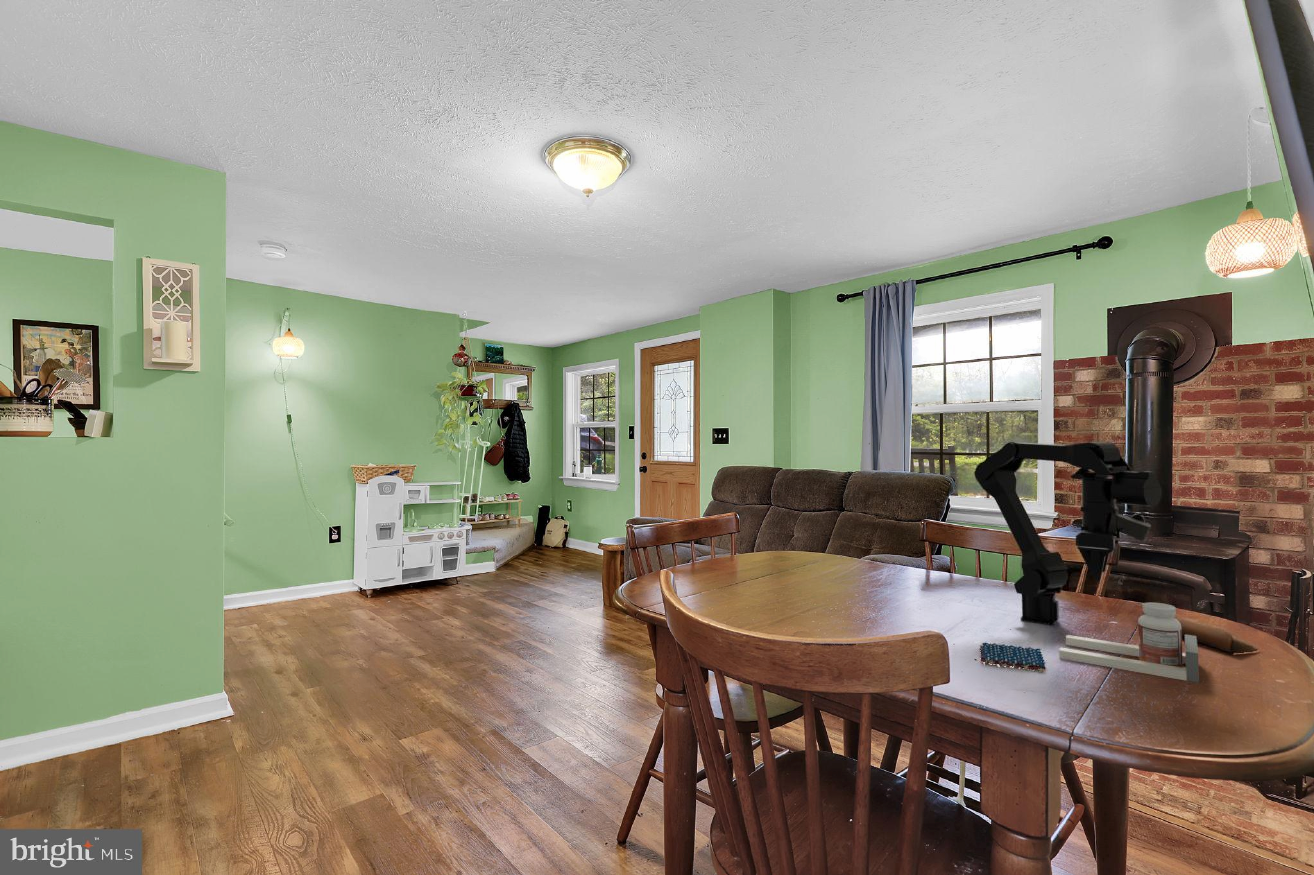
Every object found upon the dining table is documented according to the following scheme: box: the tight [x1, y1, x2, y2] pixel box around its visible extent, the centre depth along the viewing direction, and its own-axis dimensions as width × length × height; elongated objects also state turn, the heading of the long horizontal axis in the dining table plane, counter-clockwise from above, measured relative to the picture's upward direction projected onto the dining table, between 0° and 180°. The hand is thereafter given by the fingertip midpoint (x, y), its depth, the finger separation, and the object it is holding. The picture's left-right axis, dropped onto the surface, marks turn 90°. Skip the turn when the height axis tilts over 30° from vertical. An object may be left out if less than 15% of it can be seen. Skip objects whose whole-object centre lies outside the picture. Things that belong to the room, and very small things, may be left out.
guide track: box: [1058, 634, 1200, 684], centre depth 115 cm, size 20×12×5 cm, turn 50°
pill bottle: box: [1137, 602, 1184, 668], centre depth 112 cm, size 6×6×11 cm
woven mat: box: [979, 641, 1047, 673], centre depth 117 cm, size 10×11×2 cm
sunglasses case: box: [1174, 615, 1260, 655], centre depth 126 cm, size 18×7×7 cm
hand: (1099, 575), depth 129 cm, fingers open, 9 cm apart
